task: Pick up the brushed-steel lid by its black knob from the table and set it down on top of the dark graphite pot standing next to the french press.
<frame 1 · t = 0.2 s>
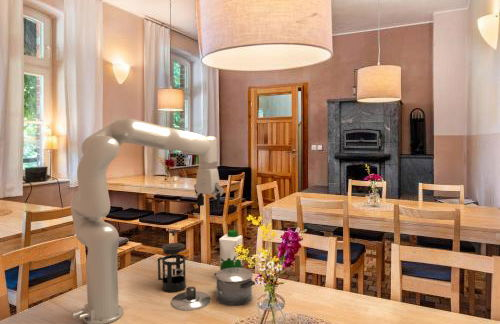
hand: (208, 207, 148), 31 cm above the table, tool pointing down, fingers open, 9 cm apart
pot: (234, 297, 133), on the table
french press: (173, 288, 142), on the table
lid: (191, 302, 130), on the table
milk carton: (231, 279, 150), on the table
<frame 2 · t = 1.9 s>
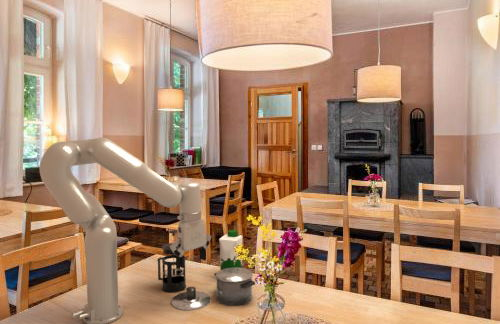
hand: (192, 263, 129), 14 cm above the table, tool pointing down, fingers open, 9 cm apart
nothing on the table moved.
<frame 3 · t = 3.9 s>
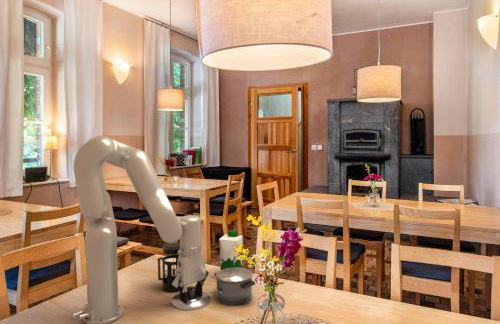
hand: (191, 298, 130), 1 cm above the table, tool pointing down, fingers closed on lid, 6 cm apart
lid: (191, 301, 130), on the table, touching gripper
everything else where it was.
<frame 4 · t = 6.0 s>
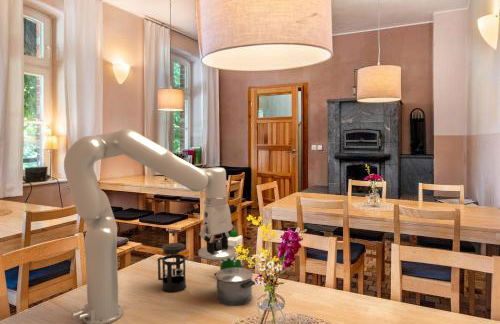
hand: (217, 250, 131), 18 cm above the table, tool pointing down, fingers closed on lid, 6 cm apart
lid: (217, 253, 131), point 17 cm above the table, touching gripper
everything else where it was.
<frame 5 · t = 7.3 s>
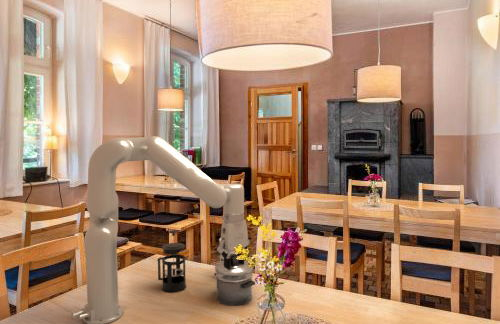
hand: (234, 265, 132), 12 cm above the table, tool pointing down, fingers closed on lid, 6 cm apart
lid: (234, 268, 132), point 11 cm above the table, touching gripper
everything else where it was.
when the fingers open (11 cm above the table, at t = 8.3 s): lid drops 1 cm, resting on pot.
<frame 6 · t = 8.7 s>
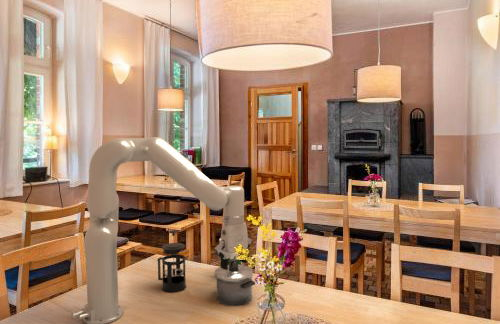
hand: (234, 265, 132), 12 cm above the table, tool pointing down, fingers open, 9 cm apart
lid: (233, 274, 132), point 9 cm above the table, touching pot
everything else where it was.
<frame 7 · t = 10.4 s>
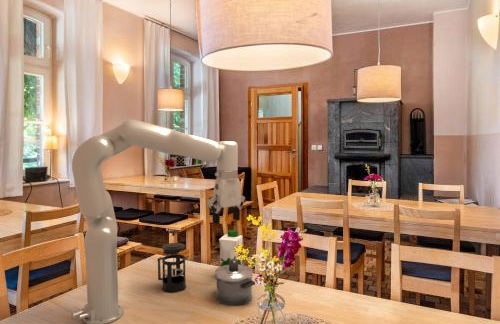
hand: (226, 221, 131), 29 cm above the table, tool pointing down, fingers open, 9 cm apart
nothing on the table moved.
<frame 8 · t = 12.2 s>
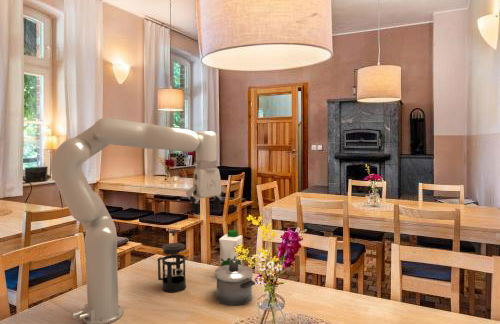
hand: (206, 211, 131), 32 cm above the table, tool pointing down, fingers open, 9 cm apart
nothing on the table moved.
at the end: lid 0.2 cm from the pot (horizontally); lid point 9.0 cm above the table; lid tilted 0° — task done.
